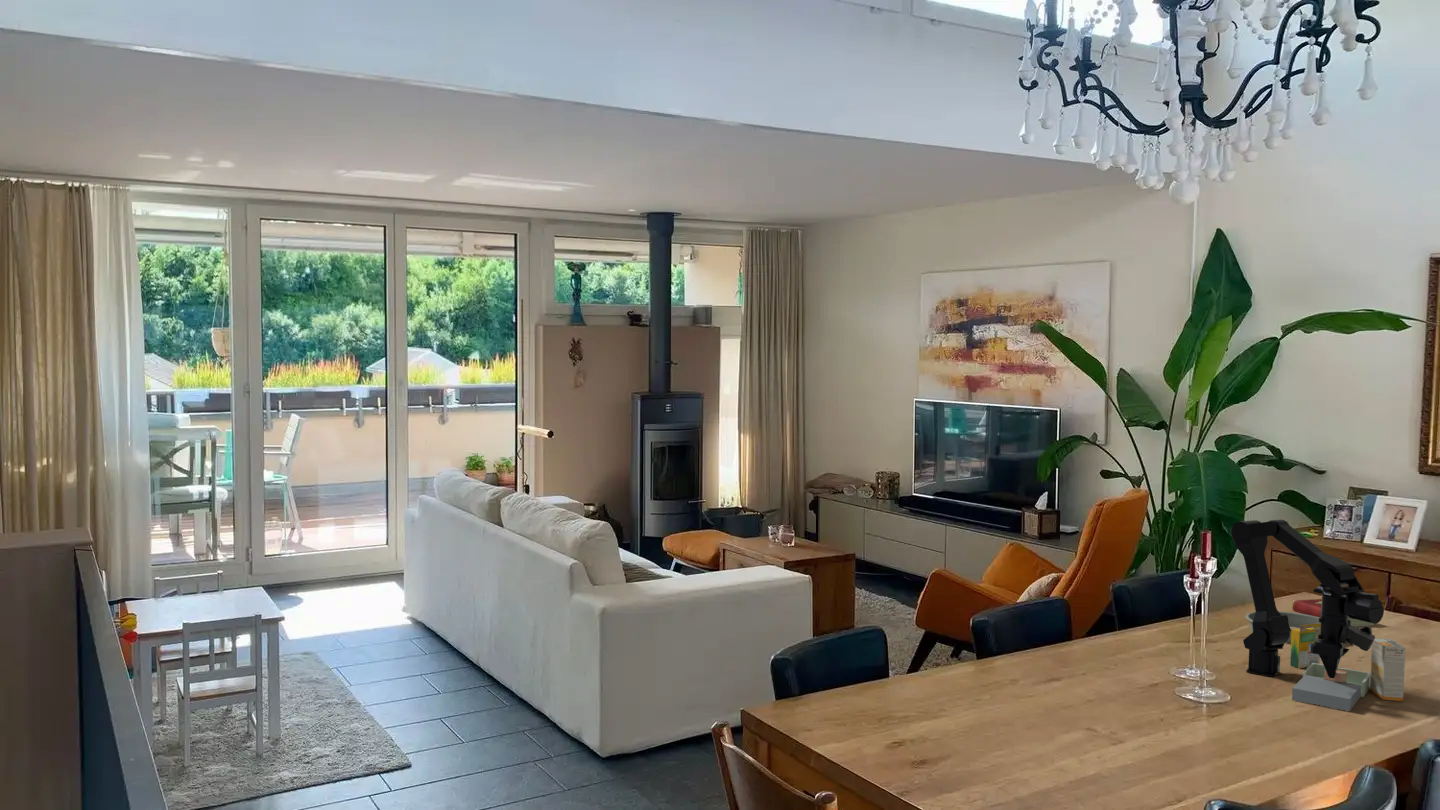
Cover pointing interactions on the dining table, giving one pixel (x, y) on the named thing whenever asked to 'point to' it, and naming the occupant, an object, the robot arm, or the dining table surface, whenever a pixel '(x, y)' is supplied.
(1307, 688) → the grey base plate
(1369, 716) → the dining table surface
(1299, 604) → the hardcover book
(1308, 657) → the crayon box
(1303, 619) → the cake pan
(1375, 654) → the supplement box
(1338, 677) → the tile
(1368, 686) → the box
